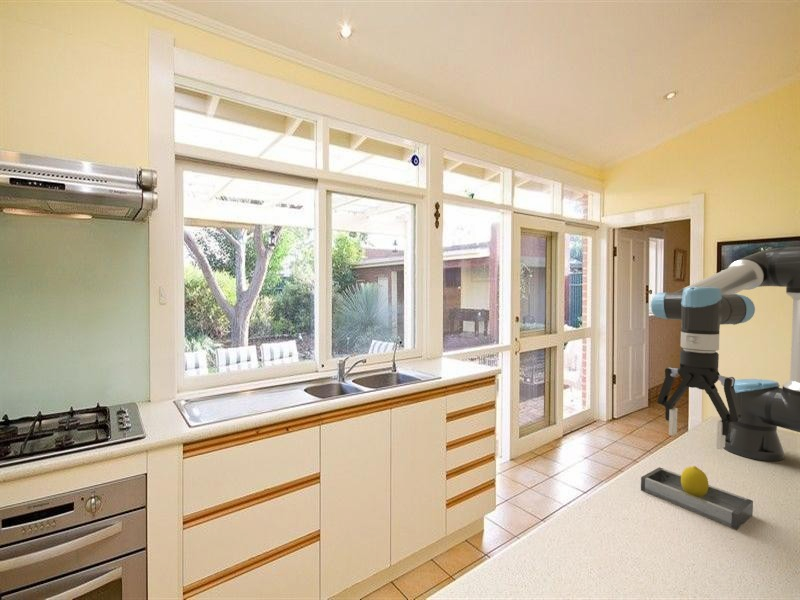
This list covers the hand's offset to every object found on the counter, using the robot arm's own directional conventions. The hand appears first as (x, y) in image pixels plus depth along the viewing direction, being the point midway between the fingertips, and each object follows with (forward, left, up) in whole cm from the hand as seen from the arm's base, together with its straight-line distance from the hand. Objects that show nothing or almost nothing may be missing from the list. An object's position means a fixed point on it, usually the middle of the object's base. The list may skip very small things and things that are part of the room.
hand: (695, 440), depth 97 cm
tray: (0, 0, -16) cm, 16 cm away
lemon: (0, 0, -15) cm, 15 cm away
